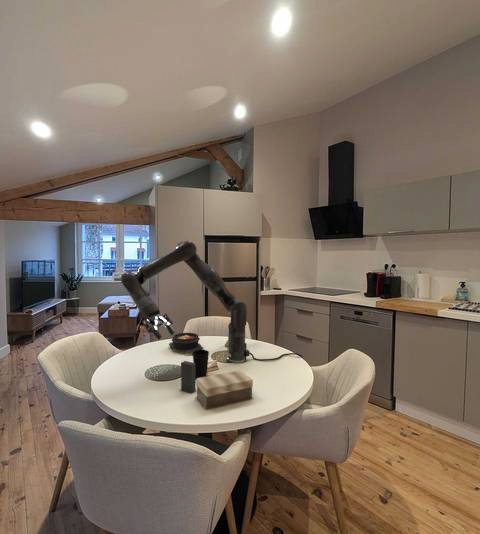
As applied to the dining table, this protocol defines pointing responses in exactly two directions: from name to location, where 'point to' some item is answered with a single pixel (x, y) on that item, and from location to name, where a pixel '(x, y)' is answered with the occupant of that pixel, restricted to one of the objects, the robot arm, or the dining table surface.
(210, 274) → the robot arm
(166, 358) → the dining table surface
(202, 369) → the cup
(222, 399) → the lidded shoe box
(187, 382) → the dark grey rectangular block
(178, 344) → the casserole
